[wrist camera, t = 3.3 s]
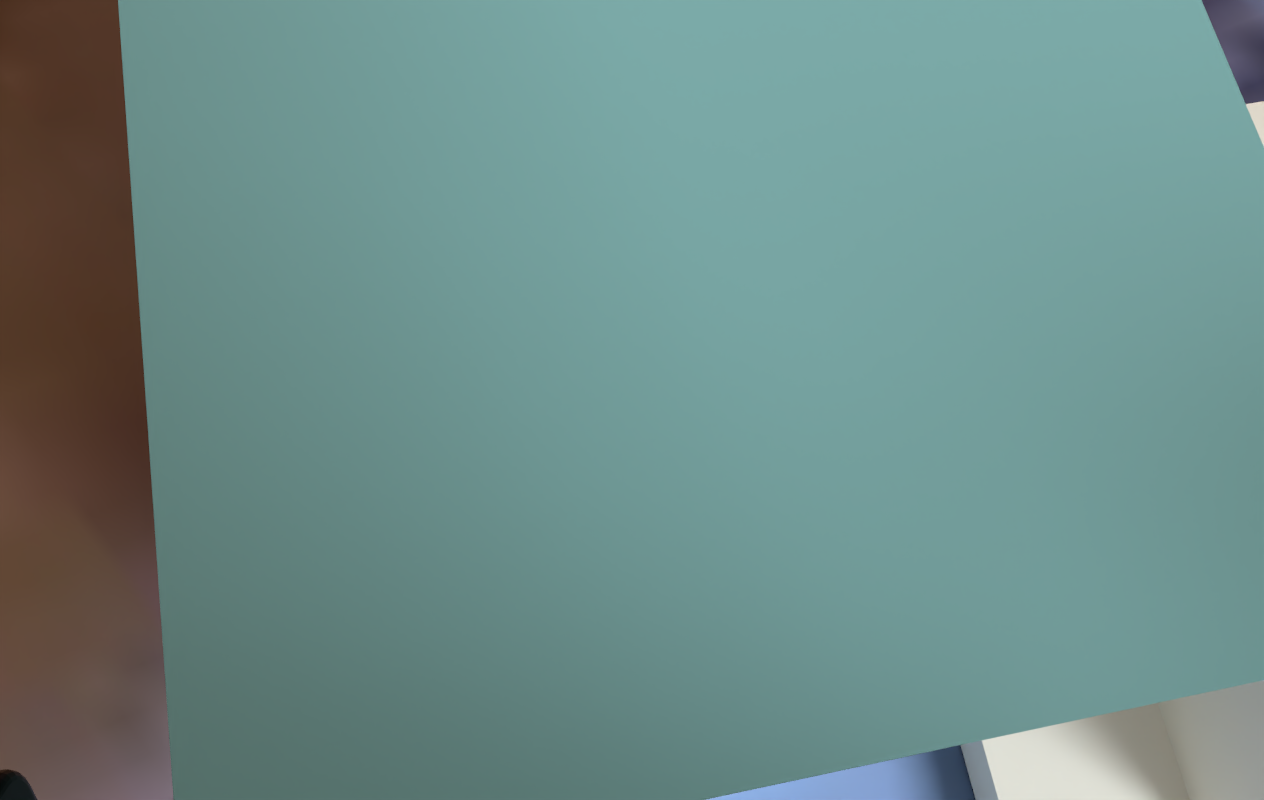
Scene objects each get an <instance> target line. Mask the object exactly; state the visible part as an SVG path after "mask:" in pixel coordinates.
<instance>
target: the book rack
mask: <svg viewBox="0 0 1264 800" xmlns="http://www.w3.org/2000/svg"><path fill="white" fill-rule="evenodd" d="M1246 106H1247V109H1248V111H1249V113H1250V116H1251V118H1252V120H1253V123H1254V125H1255V127H1256V130H1257V132H1258V134H1259V137H1260V139H1261V141H1262V144H1263V146H1264V101H1262V102H1256V103H1250V104H1246ZM961 749H962V752H963V756H964V759H965V763H966V767H967V770H968V774H969V777H970V781H971V785H972V788H973V792H974V795H975V799H976V800H1264V680H1262V681H1258V682H1253V683H1248V684H1244V685H1239V686H1234V687H1230V688H1225V689H1220V690H1216V691H1211V692H1206V693H1201V694H1197V695H1192V696H1187V697H1183V698H1178V699H1173V700H1169V701H1164V702H1159V703H1155V704H1150V705H1145V706H1141V707H1136V708H1131V709H1127V710H1122V711H1117V712H1113V713H1108V714H1103V715H1098V716H1094V717H1089V718H1084V719H1080V720H1075V721H1070V722H1066V723H1061V724H1056V725H1052V726H1047V727H1042V728H1038V729H1033V730H1028V731H1024V732H1019V733H1014V734H1009V735H1005V736H1000V737H995V738H991V739H986V740H981V741H977V742H972V743H967V744H963V745H961Z"/></svg>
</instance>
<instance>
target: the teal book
mask: <svg viewBox="0 0 1264 800" xmlns="http://www.w3.org/2000/svg"><path fill="white" fill-rule="evenodd" d="M118 7H119V21H120V36H121V50H122V64H123V79H124V93H125V108H126V122H127V136H128V151H129V165H130V179H131V194H132V208H133V222H134V237H135V251H136V266H137V280H138V294H139V309H140V323H141V337H142V352H143V366H144V380H145V395H146V409H147V423H148V438H149V452H150V467H151V481H152V495H153V510H154V524H155V538H156V553H157V567H158V581H159V596H160V610H161V625H162V639H163V653H164V668H165V682H166V696H167V711H168V725H169V739H170V754H171V768H172V782H173V797H174V800H705V799H710V798H715V797H719V796H724V795H729V794H733V793H738V792H743V791H747V790H752V789H757V788H761V787H766V786H771V785H775V784H780V783H785V782H789V781H794V780H799V779H803V778H808V777H813V776H818V775H822V774H827V773H832V772H836V771H841V770H846V769H850V768H855V767H860V766H864V765H869V764H874V763H878V762H883V761H888V760H892V759H897V758H902V757H906V756H911V755H916V754H921V753H925V752H930V751H935V750H939V749H944V748H949V747H953V746H958V745H963V744H967V743H972V742H977V741H981V740H986V739H991V738H995V737H1000V736H1005V735H1009V734H1014V733H1019V732H1024V731H1028V730H1033V729H1038V728H1042V727H1047V726H1052V725H1056V724H1061V723H1066V722H1070V721H1075V720H1080V719H1084V718H1089V717H1094V716H1098V715H1103V714H1108V713H1113V712H1117V711H1122V710H1127V709H1131V708H1136V707H1141V706H1145V705H1150V704H1155V703H1159V702H1164V701H1169V700H1173V699H1178V698H1183V697H1187V696H1192V695H1197V694H1201V693H1206V692H1211V691H1216V690H1220V689H1225V688H1230V687H1234V686H1239V685H1244V684H1248V683H1253V682H1258V681H1262V680H1264V146H1263V144H1262V141H1261V139H1260V137H1259V134H1258V132H1257V130H1256V127H1255V125H1254V123H1253V120H1252V118H1251V116H1250V113H1249V111H1248V109H1247V106H1246V104H1245V101H1244V99H1243V97H1242V94H1241V92H1240V90H1239V87H1238V85H1237V83H1236V80H1235V78H1234V76H1233V73H1232V71H1231V69H1230V66H1229V64H1228V62H1227V59H1226V57H1225V55H1224V52H1223V50H1222V47H1221V45H1220V43H1219V40H1218V38H1217V36H1216V33H1215V31H1214V29H1213V26H1212V24H1211V22H1210V19H1209V17H1208V15H1207V12H1206V10H1205V8H1204V5H1203V3H1202V0H118Z"/></svg>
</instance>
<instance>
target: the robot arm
mask: <svg viewBox="0 0 1264 800" xmlns="http://www.w3.org/2000/svg"><path fill="white" fill-rule="evenodd" d="M0 800H37V798H36V796H35V794H34V792H33V790H32V788H31V786H30V784H29V783H28V781H27V780H26V778H25V777H24V776H22V775H21V774H20V773H19V772H16V771H13V770H0Z"/></svg>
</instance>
